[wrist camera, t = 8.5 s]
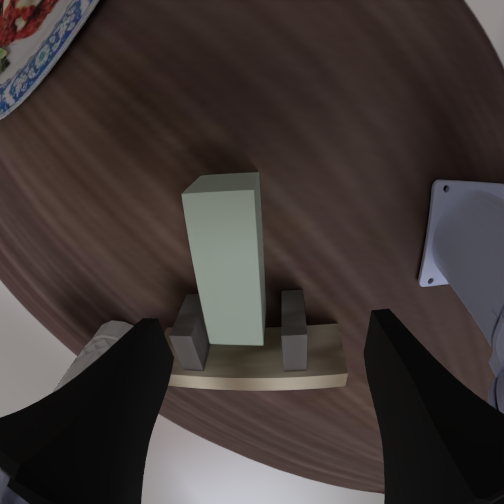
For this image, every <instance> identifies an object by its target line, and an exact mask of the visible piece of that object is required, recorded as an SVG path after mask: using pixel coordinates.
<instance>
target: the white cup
mask: <svg viewBox="0 0 504 504" xmlns="http://www.w3.org/2000/svg"><path fill="white" fill-rule="evenodd" d="M132 327H133V325H131V324H129V323H126V322H122V321H113V320H111V321H109V322H107V323H105V324H102V325H101V327H100V328H99V330H98V331H97V332H96V334H95V335H94V336H93V338H92V339H91V341H90V342H89V343H88V344H87V345H86V346H85V347H84V348H83V350H82V351H81V353H80V354H79V356H78V357H77V358H76V359H75V360H74V362H73V363H72V365H71V366H70V368H69V369H68V370H67V372H66V374H65V375H64V376H63V378H62V379H61V381H60V383H59V384H58V385H57V387H56V388H55V390H54V392H55V391H56V390H58V389H59V388H61V387H62V386H64V385H65V384H66V383H68V382H69V381H71V380H72V379H73V378H75V377H76V376H77V375H79V374H80V373H81V372H82V371H83V370H85V369H86V368H87V367H88V366H89V365H91V364H92V363H93V362H94V361H95V360H97V359H98V358H99V357H100V356H101V355H102V354H103V353H105V352H106V351H107V350H108V349H109V348H110V347H111V346H112V345H113V344H115V343H116V342H117V341H118V340H119V339H120V338H121V337H122V336H123V335H124V334H125V333H127V332H128V331H129V330H130V329H131V328H132Z"/></svg>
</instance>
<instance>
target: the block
mask: <svg viewBox="0 0 504 504" xmlns="http://www.w3.org/2000/svg"><path fill="white" fill-rule="evenodd" d="M181 195H182V201H183V208H184V214H185V220H186V226H187V232H188V238H189V244H190V250H191V255H192V261H193V266H194V271H195V276H196V281H197V286H198V291H199V296H200V301H201V306H202V311H203V315H204V320H205V324H206V329H207V333H208V338H209V342H210V344H226V345H263V343H264V330H265V317H266V294H265V273H264V253H263V234H262V216H261V198H260V180H259V172H252V173H232V174H216V175H202V176H200V177H199V178H198V179H197V180H196V181H195V182H193V183H192V184H191V185H190V186H189V187H188V188H187V189H186V190H185V191H184V192H183V193H182V194H181Z"/></svg>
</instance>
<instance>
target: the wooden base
mask: <svg viewBox="0 0 504 504" xmlns="http://www.w3.org/2000/svg"><path fill="white" fill-rule="evenodd" d="M164 335H165V337H166V340H167V342H168V344H169V347H170V349H171V351H172V353H173V356H174V362H173V367H172V372H171V377H170V381H169V384H168V386H178V387H189V388H202V389H220V390H298V389H315V388H328V387H339V386H345V384H346V380H347V375H348V371H347V366H346V360H345V355H344V350H343V345H342V340H341V335H340V330H339V325H338V324H324V325H309V326H306V315H305V305H304V294H303V290H286V291H282V327H266V328H265V330H264V343H263V345H226V344H210V342H209V338H208V333H207V329H206V324H205V320H204V315H203V311H202V306H201V301H200V296H199V294H187V295H186V297H185V300H184V302H183V304H182V307H181V309H180V311H179V313H178V316H177V318H176V320H175V323H174V325H173V327H167V328H166V331H165V333H164Z"/></svg>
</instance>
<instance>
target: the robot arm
mask: <svg viewBox="0 0 504 504" xmlns="http://www.w3.org/2000/svg"><path fill="white" fill-rule="evenodd" d="M445 185H446V186H447V188H446V190H445V191H443V188H444V186H445ZM430 278H431V280H430V281H428V280H429V279H430ZM418 283H419V285H420V286H421V287H427V286H435V285H443V284H450V286H451V287H452V288H453V290H454V291H455V293H456V294H457V295H458V297H459V298H460V300H461V301H462V302H463V304H464V305H465V307H466V308H467V310H468V311H469V313H470V314H471V316H472V317H473V319H474V320H475V322H476V323H477V325H478V327H479V328H480V330H481V331H482V333H483V335H484V336H485V338H486V339H487V341H488V343H489V344H490V346H491V348H492V349H493V353H492V356H491V358H490V360H489V362H488V363H489V365H490V367H491V369H492V371H493V373H494V375H495V377H494V379H493V381H492V383H491V385H490V388H489V393H488V403H487V402H485V401H484V400H483V399H481V398H480V397H478V396H477V395H476V394H474V393H473V392H472V391H471V390H470V389H468V388H467V387H466V386H465V385H463V384H462V383H461V382H460V381H459V380H457V379H456V378H455V377H454V376H453V375H452V374H451V373H450V372H449V371H448V370H447V369H446V368H444V367H443V366H442V365H441V364H440V363H439V362H438V361H437V360H436V359H435V358H434V357H433V356H432V355H431V354H430V353H429V352H428V350H427V349H426V348H425V347H424V346H423V345H422V344H421V343H420V342H419V341H418V340H417V339H416V338H415V337H414V336H413V334H412V333H411V332H410V331H409V330H408V329H407V328H406V327H405V326H404V325H403V323H402V322H401V321H400V320H399V319H398V318H397V317H396V316H395V315H394V314H393V313H392V311H391V310H390V309H381V310H372V311H371V317H370V322H369V328H368V333H367V338H366V343H365V348H364V359H365V366H366V373H367V379H368V383H369V387H370V391H371V395H372V399H373V403H374V407H375V411H376V415H377V419H378V424H379V428H380V433H381V438H382V445H383V457H384V476H385V502H384V503H385V504H504V184H499V183H487V182H473V181H456V180H436V181H434V183H433V184H432V192H431V202H430V211H429V219H428V227H427V234H426V240H425V246H424V252H423V257H422V263H421V268H420V272H419V277H418ZM173 362H174V356H173V353H172V351H171V349H170V347H169V344H168V342H167V340H166V337H165V335H164V333H163V330H162V328H161V325H160V323H159V320H158V319H151V318H143V319H142V320H140V321H139V322H138V323H137V324H136V325H134V326H133V327H132V328H131V329H130V330H129V331H128V332H127V333H125V334H124V335H123V336H122V337H121V338H120V339H119V340H118V341H117V342H116V343H115V344H113V345H112V346H111V347H110V348H109V349H108V350H107V351H106V352H105V353H103V354H102V355H101V356H100V357H99V358H98V359H97V360H95V361H94V362H93V363H92V364H91V365H89V366H88V367H87V368H86V369H85V370H83V371H82V372H81V373H80V374H79V375H77V376H76V377H75V378H73V379H72V380H71V381H69V382H68V383H66V384H65V385H64V386H62V387H61V388H59V389H58V390H56V391H55V392H53V393H51V394H50V395H48V396H46V397H45V398H43V399H41V400H40V401H38V402H36V403H34V404H32V405H30V406H28V407H26V408H24V409H22V410H19V411H17V412H15V413H12V414H10V415H7V416H4V417H1V418H0V504H141V496H142V484H143V475H144V468H145V461H146V456H147V451H148V446H149V441H150V437H151V434H152V430H153V427H154V424H155V422H156V419H157V416H158V413H159V410H160V407H161V405H162V402H163V399H164V396H165V393H166V390H167V387H168V384H169V381H170V377H171V372H172V367H173Z"/></svg>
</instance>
